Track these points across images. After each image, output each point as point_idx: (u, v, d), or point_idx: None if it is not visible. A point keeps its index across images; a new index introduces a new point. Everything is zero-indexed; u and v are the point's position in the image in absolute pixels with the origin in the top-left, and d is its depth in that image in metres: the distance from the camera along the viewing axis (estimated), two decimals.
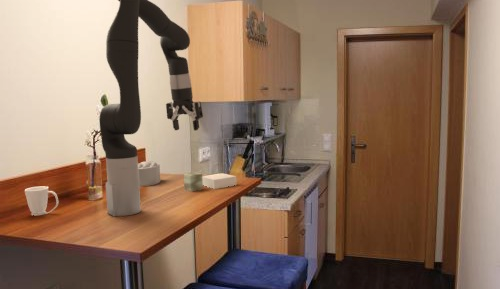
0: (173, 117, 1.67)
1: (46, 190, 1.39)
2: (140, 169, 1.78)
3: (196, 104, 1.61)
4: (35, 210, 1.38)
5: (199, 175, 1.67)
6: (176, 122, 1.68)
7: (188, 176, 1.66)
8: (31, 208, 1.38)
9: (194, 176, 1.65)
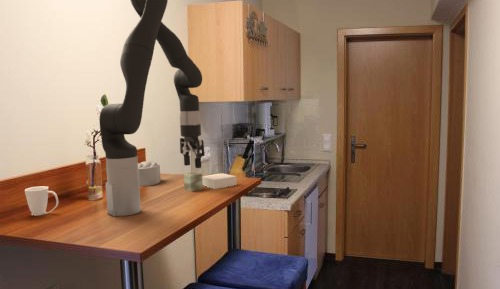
0: (183, 152, 1.70)
1: (46, 190, 1.39)
2: (140, 169, 1.78)
3: (197, 142, 1.61)
4: (35, 210, 1.38)
5: (199, 175, 1.67)
6: (186, 157, 1.70)
7: (188, 176, 1.66)
8: (31, 208, 1.38)
9: (194, 176, 1.65)
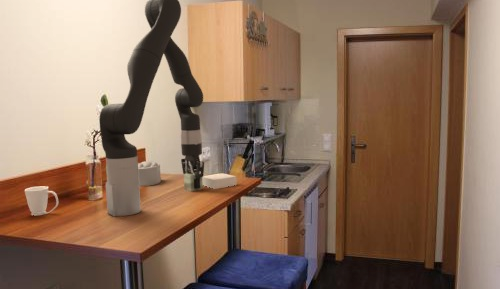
0: (186, 173, 1.70)
1: (46, 190, 1.39)
2: (141, 169, 1.78)
3: (198, 164, 1.62)
4: (35, 210, 1.38)
5: None
6: None
7: (188, 176, 1.66)
8: (31, 208, 1.38)
9: None
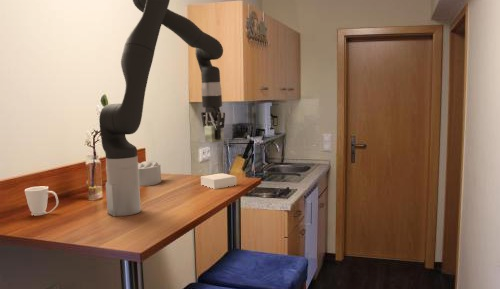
0: (206, 125, 1.74)
1: (46, 190, 1.39)
2: (141, 169, 1.78)
3: (219, 114, 1.66)
4: (35, 210, 1.38)
5: None
6: None
7: (209, 127, 1.70)
8: (31, 208, 1.38)
9: None
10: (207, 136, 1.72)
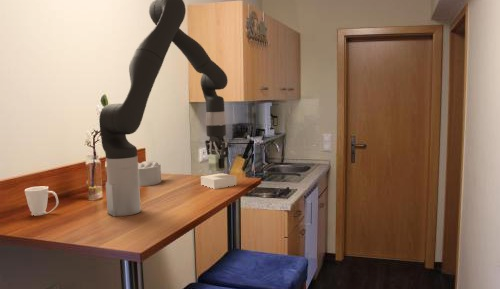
0: None
1: (46, 190, 1.39)
2: (142, 169, 1.78)
3: (223, 144, 1.67)
4: (35, 210, 1.38)
5: None
6: None
7: (213, 156, 1.71)
8: (31, 208, 1.38)
9: None
10: (211, 165, 1.73)
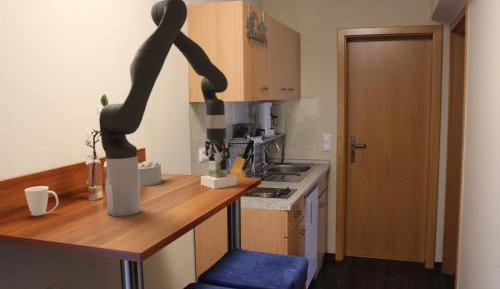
0: (209, 155, 1.76)
1: (46, 190, 1.39)
2: (142, 169, 1.78)
3: (223, 145, 1.67)
4: (35, 210, 1.38)
5: None
6: (211, 160, 1.77)
7: (213, 163, 1.72)
8: (31, 208, 1.38)
9: (219, 163, 1.71)
10: (211, 171, 1.73)
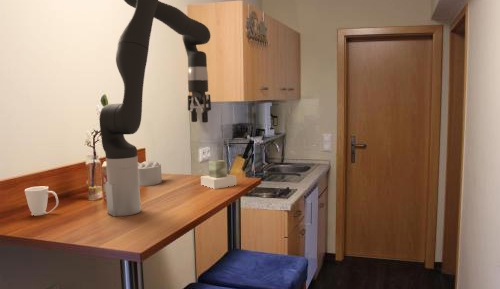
0: (191, 109, 1.74)
1: (46, 190, 1.39)
2: (143, 169, 1.78)
3: (204, 96, 1.65)
4: (35, 210, 1.38)
5: (223, 162, 1.73)
6: (194, 114, 1.75)
7: (213, 163, 1.72)
8: (31, 208, 1.38)
9: (219, 163, 1.71)
10: (211, 171, 1.73)
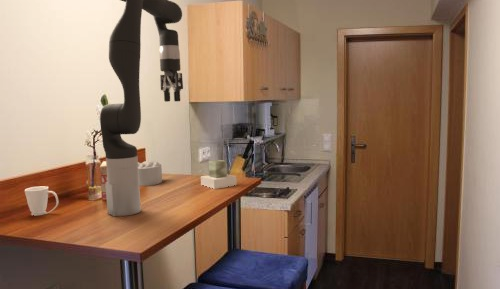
0: (163, 88, 1.74)
1: (46, 190, 1.39)
2: (143, 169, 1.78)
3: (175, 74, 1.65)
4: (35, 210, 1.38)
5: (223, 162, 1.73)
6: (166, 93, 1.75)
7: (213, 163, 1.72)
8: (31, 208, 1.38)
9: (219, 163, 1.71)
10: (211, 171, 1.73)
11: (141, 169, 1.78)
